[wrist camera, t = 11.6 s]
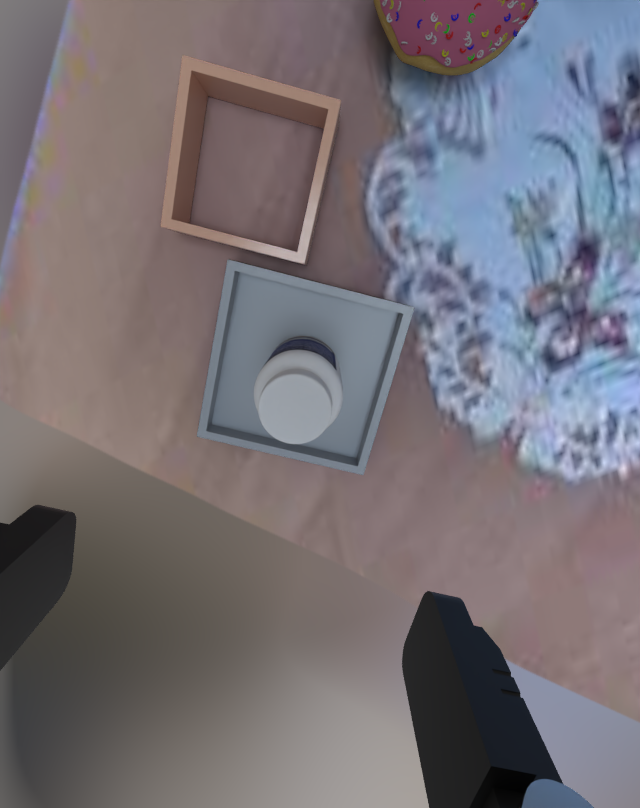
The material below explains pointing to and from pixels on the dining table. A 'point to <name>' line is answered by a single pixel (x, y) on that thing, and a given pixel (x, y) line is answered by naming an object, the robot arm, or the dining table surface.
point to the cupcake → (451, 31)
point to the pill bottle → (299, 390)
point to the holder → (251, 93)
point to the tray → (289, 317)
